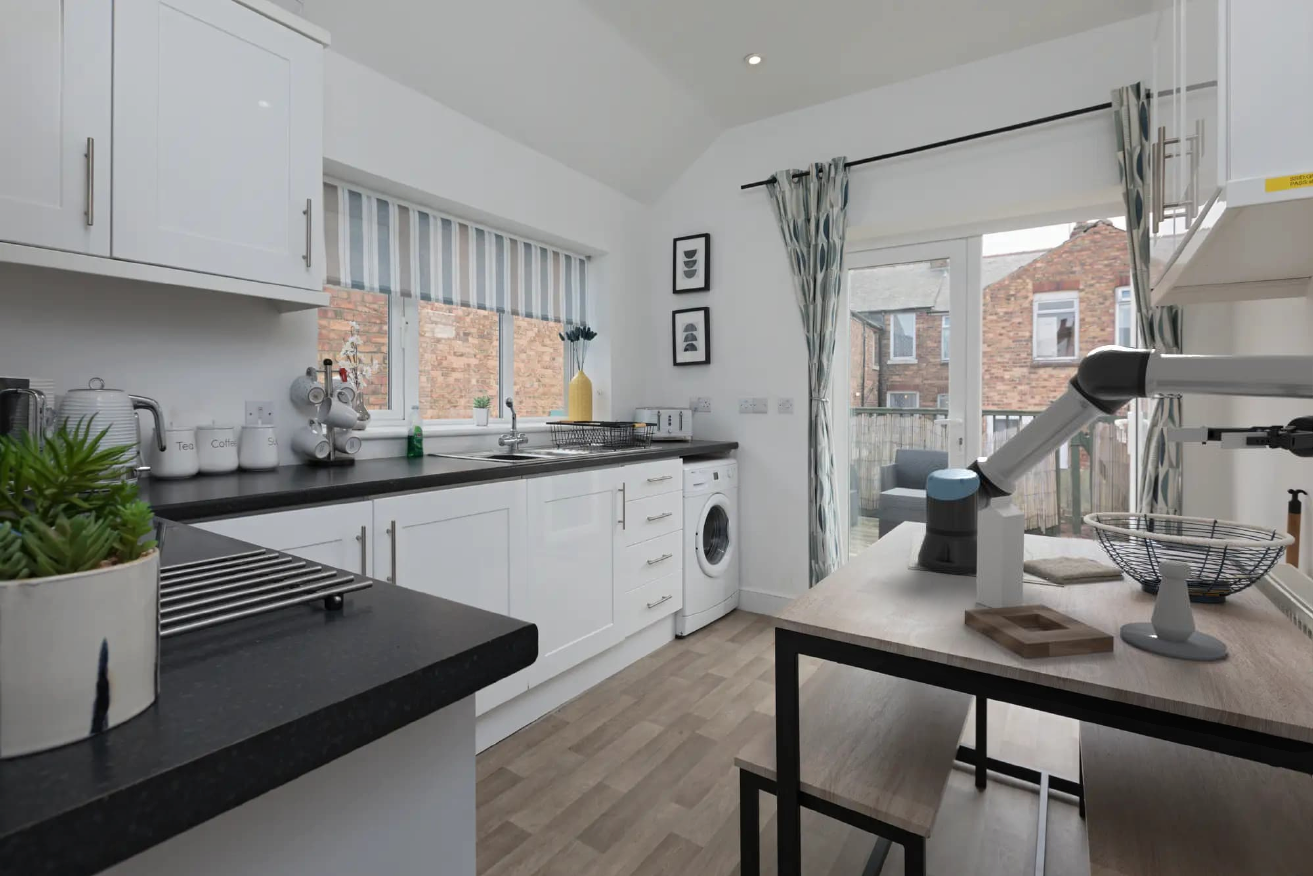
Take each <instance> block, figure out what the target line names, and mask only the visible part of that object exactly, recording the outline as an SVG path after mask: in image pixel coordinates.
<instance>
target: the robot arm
mask: <svg viewBox="0 0 1313 876" xmlns="http://www.w3.org/2000/svg"><path fill="white" fill-rule="evenodd" d="M1159 394H1167V395H1171V394H1172V395H1192V396H1193V395H1194V396H1195V395H1196V396H1217V397H1218V396H1220V397H1221V396H1223V397H1224V396H1225V397H1244V398H1245V397H1247V398H1248V397H1249V398H1251V397H1252V398H1273V399H1274V398H1275V399H1295V400H1296V399H1298V400H1299V399H1300V400H1301V399H1303V400H1313V354H1312V355H1311V354H1310V355H1304V354H1303V355H1299V354H1297V355H1292V354H1291V355H1289V354H1288V355H1287V354H1285V355H1283V354H1282V355H1280V354H1279V355H1278V354H1275V355H1274V354H1271V355H1270V354H1268V355H1267V354H1266V355H1265V354H1162V353H1161V352H1159V351H1158V350H1157V349H1141V348H1138V347H1137V348H1136V347H1134V346H1128V345H1122V346H1121V345H1116V344H1114V345H1113V344H1112V345H1111V344H1110V345H1103V346H1100V347H1097V348H1095V349H1093V350H1092V351H1089V353H1087V354H1086V355H1084V357H1083V358H1082V359H1081V360H1080V363H1079V365H1078V367H1077V372H1076V373H1075V374H1074V375H1073V376H1072V377H1071V378H1070V379H1068V381H1067V390H1065V392H1064V393H1062V395H1060V396H1059V397H1058V398H1056V400H1054V401H1053V402H1052V403H1051V404H1050V405H1049V406H1047V407H1046V408H1045V409H1044V410H1043V411H1041V412H1040V413H1039V414H1038V415H1036V417H1034V418H1033V419H1032V420H1031V421H1030V422H1029V423H1027V424H1026V425H1025V426H1023V428H1021V429H1020V430H1019V431H1017V433H1016V434H1014V435H1013V436H1012V437H1010V438H1009V439H1008V441H1006V442H1004V444H1002V445H1001V447H999V448H998V449H997V450H996V451H995V452H993V453H992V454H991V455H990V456H989V457H988V456H987V457H986V456H980V457H979V456H978V457H977V458H976V459H975V460H974V461H973V462H971V464H970V465H968V466H967V467H966V468H946V469H939V470H935V471H933V472H931V473H929V474H928V475H927V476H926V477H927V478H926V484H925V485H926V486H925V534H924V535H925V536H924V538H923V540H922V543H921V546H920V549H919V551H918V554H917V564H918V566H919V567H921V568H923V569H925V570H928V571H932V572H936V573H942V574H950V575H977V531H978V511H980V510H983V509H985V508H987V507H989V506H990V503H991V498H997V497H1005V496H1012V495H1013V494H1014V493H1015V492H1016V490H1017V488H1016V487H1017V485H1016V483H1017V482H1018V481H1020V480H1021V479H1022V478H1024V476H1026V475H1027V474H1028V473H1030V472H1031V471H1032V470H1034V469H1035V468H1036V467H1037V466H1039V465H1040V464H1041V463H1042V462H1044V460H1047V459H1048V457H1050V456H1051V455H1052V454H1053V453H1055V452H1056V451H1057V450H1058V449H1060V448H1061V447H1062V446H1063V445H1065V444H1066V443H1067V442H1068V441H1069V440H1071V439H1073V437H1075V436H1076V435H1077V434H1079V433H1080V432H1082V431H1083V430H1084V429H1085V428H1086V427H1087V426H1089V425H1090V424H1091V423H1092V422H1094V421H1095V420H1096V419H1098V418H1100V417H1111V416H1113V415H1114V414H1116V413H1117V412H1118V411H1119V410H1121V409H1122V408H1123V407H1125V406H1126V405H1127V404H1129V402H1131V401H1133V400H1134V399H1137V398H1139V399H1140V398H1141V399H1152V398H1153V397H1154V396H1156V395H1159ZM1209 441H1210V442H1220V449H1223V450H1224V449H1225V450H1227V449H1228V450H1231V449H1232V450H1235V449H1236V450H1237V449H1238V450H1239V449H1245V450H1246V449H1247V450H1248V449H1250V450H1251V449H1255V450H1256V449H1267V446H1268V448H1269V449H1272V450H1273V449H1274V450H1276V449H1282V450H1285V451H1286V450H1287V451H1289V452H1290V453H1292V454H1293V455H1294V456H1296V457H1299V458H1313V415H1298V416H1296V417H1294V418H1292V419H1291V420H1290V421H1289V422H1288V423H1287V425H1286V426H1285V427H1284V425H1278V424H1272V425H1270V426H1265V425H1264V426H1261V425H1260V426H1259V425H1257V426H1256V425H1254V426H1251V427H1232V426H1231V427H1228V426H1227V427H1226V426H1225V427H1224V426H1223V427H1220V426H1219V427H1218V426H1217V427H1216V426H1213V427H1212V426H1208V427H1207V426H1199V427H1167V443H1201V445H1207V442H1209Z"/></svg>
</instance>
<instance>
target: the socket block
mask: <svg viewBox="0 0 1313 876" xmlns="http://www.w3.org/2000/svg"><path fill="white" fill-rule="evenodd" d="M964 624H965V625H966V626H969V627H970V628H972V629H973V630H975V631H977V632H979V633H981V634H982V635H984V636H986V638H987V637H988V638H989V639H991V640H993V641H995V642H996V643H998V644H999V645H1001V646H1003V647H1005V648H1006V649H1008V650H1010V651H1012V652H1013V653H1015V654H1016V655H1018V656H1020V657H1022V658H1024V659H1025V660H1029V659H1038V658H1048V657H1060V656H1061V657H1062V656H1072V655H1073V656H1074V655H1083V654H1094V653H1104V652H1105V653H1107V652H1113V651H1114V644H1115V636H1114V635H1112V634H1110V633H1107V632H1106V631H1103V630H1101V629H1098V628H1097V627H1094V626H1091V625H1089V624H1087V623H1084V622H1083V621H1080V620H1078V619H1075V617H1074V618H1073V617H1071V616H1069V615H1067V614H1065V613H1062V612H1060V611H1058V610H1056V609H1053V608H1051V607H1049V606H1046V605H1044V604H1032V605H1031V604H1030V605H1023V606H1015V607H1002V608H991V607H989V608H988V607H987V608H978V609H966V610H964ZM1028 628H1029V629H1030V628H1039V629H1042V630H1041V631H1029V630H1028Z"/></svg>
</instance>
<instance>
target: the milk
mask: <svg viewBox="0 0 1313 876" xmlns="http://www.w3.org/2000/svg"><path fill="white" fill-rule="evenodd" d="M1012 498H1013V497H1012V495H1010V496H1005V497H997V498H991V503H990V506H989V507H987V508H985V509H983V510H980V511H978V531H977V574H976V594H975V595H976V597H975V598H976V600H975V602H976V603H977V604H980V605H983V606H986V607H987V608H988V607H989V608H1002V607H1015V606H1024V605H1023V601H1024V600H1023V599H1024V598H1023V597H1024V570H1023V564H1024V562H1025V560H1024V558H1025V557H1024V555H1025V553H1024V552H1025V520H1026V519H1025V515H1026V514H1025V513H1024V512H1023V511H1022V510H1020V508H1019V507H1017V506H1015V504H1013V503H1012V501H1013V499H1012Z"/></svg>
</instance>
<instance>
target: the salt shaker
mask: <svg viewBox="0 0 1313 876" xmlns="http://www.w3.org/2000/svg"><path fill="white" fill-rule="evenodd" d="M1157 569H1158V573H1159V575H1161V580H1160V584H1159V589H1158V592H1157V595H1156V600H1155V603H1154V607H1153V611H1152V615H1151V618H1150V623H1152V625H1153V627H1154V630H1155V632H1156V634H1157V635H1158V636H1159V637H1160V638H1161V639H1165V640H1169V641H1172V642H1186V641H1187V639H1188V638H1189V637H1190V636H1191V635H1192V633H1193V632H1194V631H1196V630H1195V629H1196V626H1195V619H1194V615H1193V611H1192V605H1191V601H1190V594H1189V589H1188V583H1187V580H1188V579H1190V578H1191V577H1192V568H1191V566H1190V565H1189V564H1188V563H1185V562H1182V561H1176V560H1162V561H1161V562H1160V563H1158V568H1157Z"/></svg>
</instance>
